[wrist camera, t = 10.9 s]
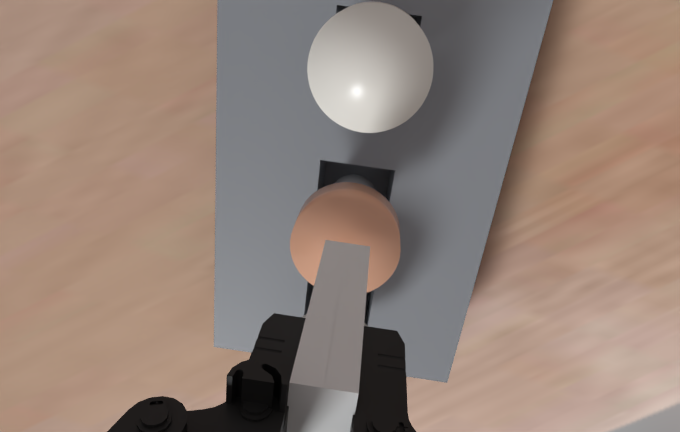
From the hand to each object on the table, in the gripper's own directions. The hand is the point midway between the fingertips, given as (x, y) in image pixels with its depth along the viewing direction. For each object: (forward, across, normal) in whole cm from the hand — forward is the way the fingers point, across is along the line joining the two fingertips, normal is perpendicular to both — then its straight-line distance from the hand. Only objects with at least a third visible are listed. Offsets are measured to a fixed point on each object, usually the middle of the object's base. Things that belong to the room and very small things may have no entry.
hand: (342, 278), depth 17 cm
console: (+11, 0, 0) cm, 11 cm away
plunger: (+8, 0, +6) cm, 10 cm away
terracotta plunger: (+7, 0, 0) cm, 7 cm away
